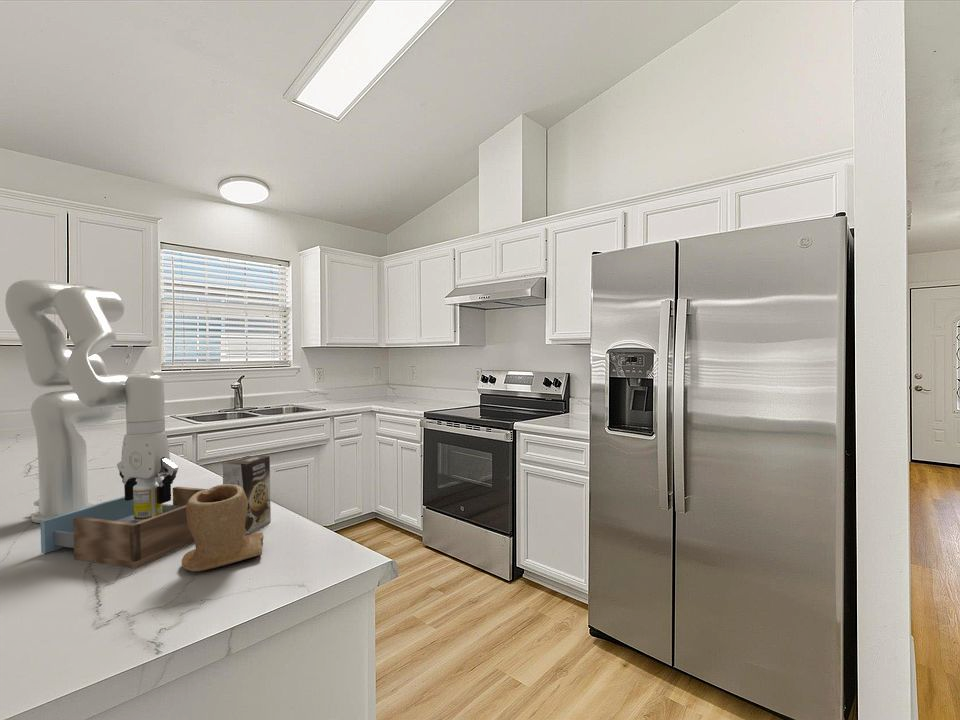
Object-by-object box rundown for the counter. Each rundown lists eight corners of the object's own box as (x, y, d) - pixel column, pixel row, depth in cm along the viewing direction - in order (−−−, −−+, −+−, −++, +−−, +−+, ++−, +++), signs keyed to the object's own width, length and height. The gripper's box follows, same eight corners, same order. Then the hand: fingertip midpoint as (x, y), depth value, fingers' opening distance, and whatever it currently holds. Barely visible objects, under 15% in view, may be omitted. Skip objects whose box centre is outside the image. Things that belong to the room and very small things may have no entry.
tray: (41, 552, 103) (40, 520, 103) (148, 515, 126) (147, 489, 126) (98, 561, 99) (97, 528, 99) (199, 520, 122) (198, 493, 122)
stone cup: (185, 584, 89) (183, 500, 89) (179, 561, 99) (177, 486, 99) (275, 562, 98) (273, 486, 98) (261, 543, 108) (260, 474, 107)
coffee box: (247, 535, 113) (246, 464, 112) (222, 533, 114) (220, 462, 113) (272, 521, 121) (270, 455, 121) (248, 520, 123) (247, 454, 122)
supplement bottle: (157, 513, 122) (156, 471, 122) (165, 518, 118) (164, 474, 118) (130, 519, 118) (129, 476, 117) (138, 524, 114) (137, 479, 114)
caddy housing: (74, 559, 101) (73, 518, 100) (177, 519, 124) (176, 486, 123) (135, 568, 96) (134, 525, 96) (230, 525, 119) (229, 491, 119)
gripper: (102, 429, 116) (104, 502, 117) (160, 431, 111) (162, 508, 112) (133, 424, 123) (134, 493, 124) (188, 426, 118) (190, 498, 119)
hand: (148, 500), depth 118 cm, fingers open, 9 cm apart
